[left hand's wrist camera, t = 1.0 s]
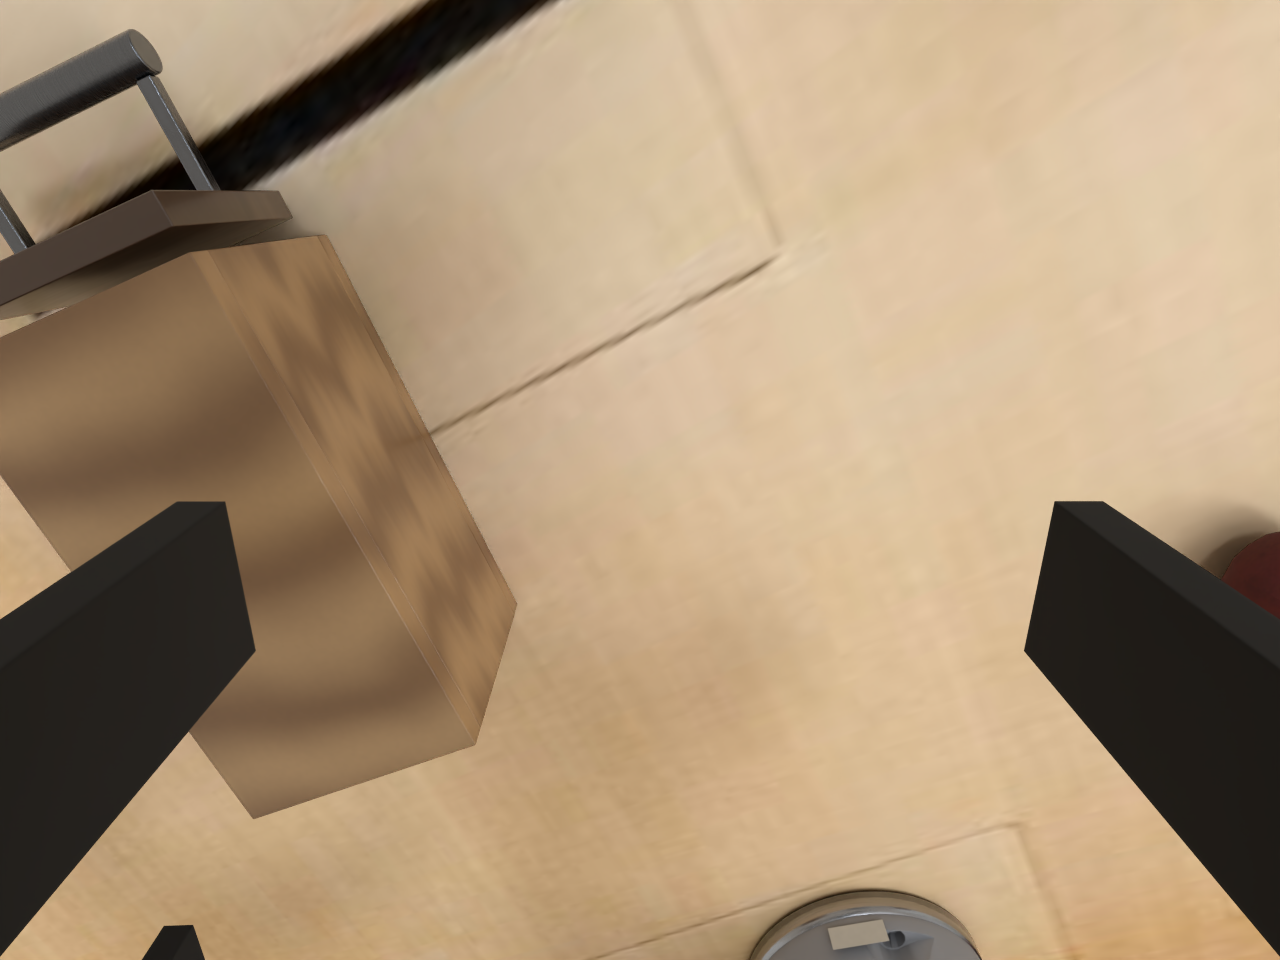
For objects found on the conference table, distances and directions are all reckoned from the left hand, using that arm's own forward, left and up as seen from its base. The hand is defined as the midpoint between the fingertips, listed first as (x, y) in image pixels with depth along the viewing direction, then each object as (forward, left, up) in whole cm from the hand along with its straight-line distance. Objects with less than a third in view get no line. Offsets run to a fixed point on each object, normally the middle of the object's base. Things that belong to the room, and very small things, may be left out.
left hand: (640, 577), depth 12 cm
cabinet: (+10, -14, -25) cm, 30 cm away
